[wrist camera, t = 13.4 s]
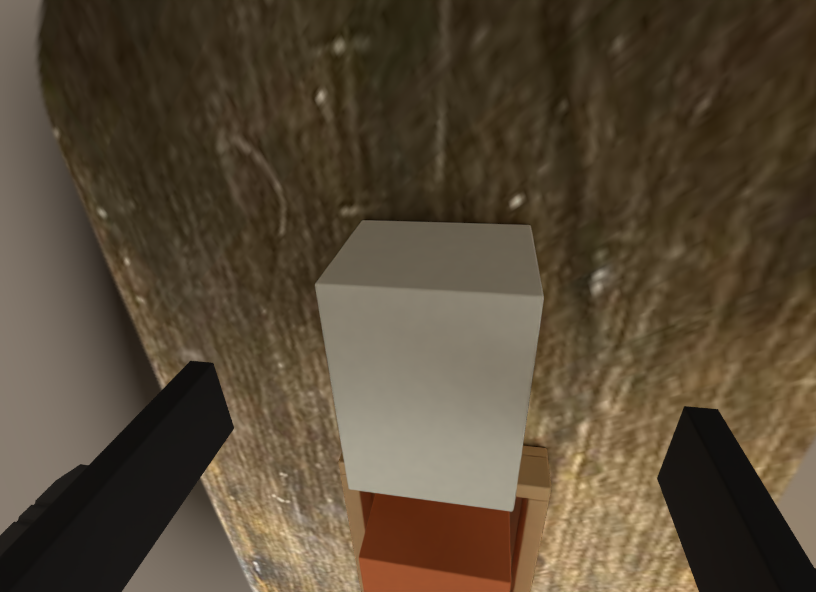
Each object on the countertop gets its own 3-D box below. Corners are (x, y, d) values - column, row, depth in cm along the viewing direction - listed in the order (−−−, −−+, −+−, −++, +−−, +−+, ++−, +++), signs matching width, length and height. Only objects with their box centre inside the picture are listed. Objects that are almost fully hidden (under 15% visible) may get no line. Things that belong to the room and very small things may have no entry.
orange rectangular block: (384, 457, 20) (357, 558, 16) (508, 473, 19) (511, 583, 15) (392, 555, 24) (372, 654, 20) (495, 572, 23) (495, 679, 19)
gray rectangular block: (361, 219, 15) (313, 283, 11) (531, 223, 14) (544, 296, 10) (378, 397, 19) (347, 490, 15) (510, 410, 18) (513, 512, 14)
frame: (350, 425, 20) (337, 462, 18) (546, 447, 18) (552, 489, 17) (370, 561, 25) (361, 599, 24) (521, 586, 24) (523, 628, 22)
